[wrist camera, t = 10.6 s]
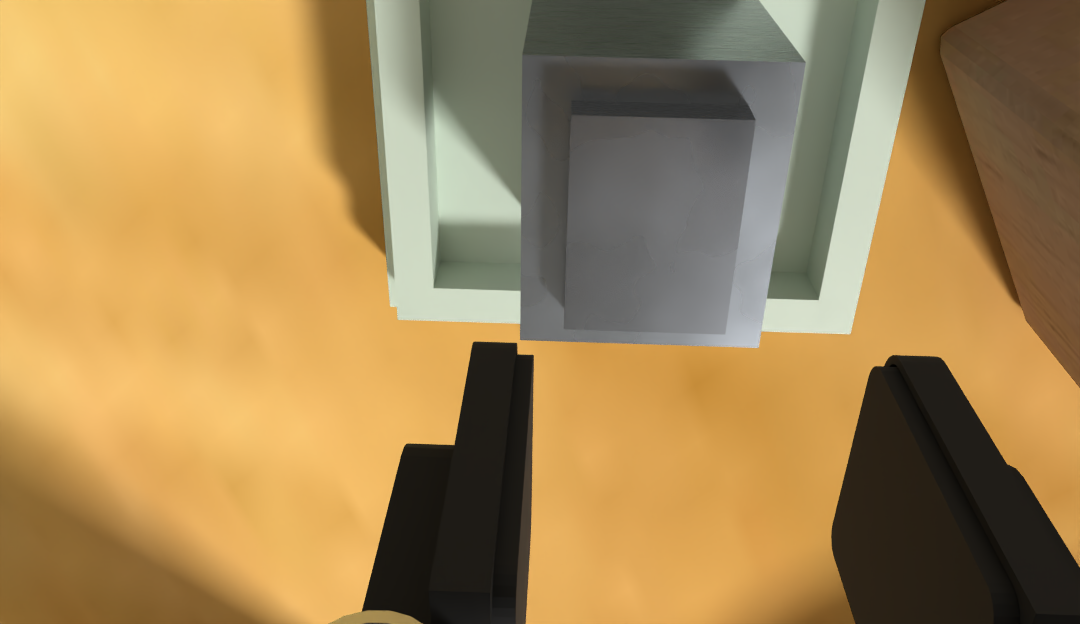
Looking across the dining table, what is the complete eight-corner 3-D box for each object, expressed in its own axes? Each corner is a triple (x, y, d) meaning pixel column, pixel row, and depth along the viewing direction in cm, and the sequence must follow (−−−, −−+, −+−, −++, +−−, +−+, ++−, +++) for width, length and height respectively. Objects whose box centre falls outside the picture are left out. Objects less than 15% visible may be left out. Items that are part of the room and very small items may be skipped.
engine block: (720, 223, 24) (765, 369, 19) (532, 218, 25) (517, 361, 19) (750, -11, 21) (815, 75, 16) (535, -16, 21) (519, 67, 16)
